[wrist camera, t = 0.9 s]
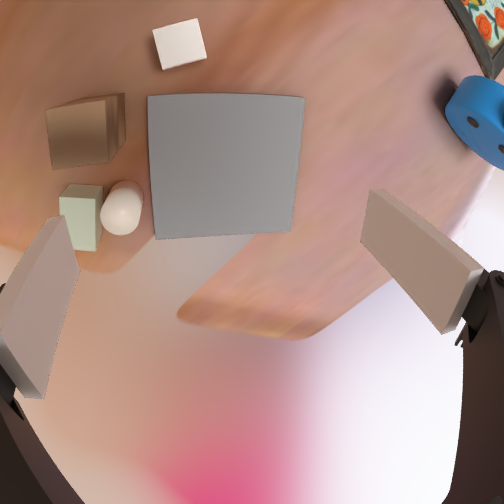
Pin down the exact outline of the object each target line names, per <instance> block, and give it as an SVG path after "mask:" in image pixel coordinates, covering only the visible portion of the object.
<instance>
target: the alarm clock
mask: <svg viewBox="0 0 504 504" xmlns="http://www.w3.org/2000/svg"><path fill="white" fill-rule="evenodd" d="M454 89H455V90H456V91H455V93H454V94H453V96H452V98H451V99H450V101H449V102H448V104H447V105H446V108H445V115H446V118H447V120H448V122H449V124H450V126H451V127H452V129H453V130H454V131H455V133H456V134H457V135H458V136H459V137H460V138H461V139H462V140H463V141H464V142H465V143H466V144H467V145H468V146H469V147H470V148H471V149H472V150H473V151H474V152H475V153H477V154H478V155H479V156H480V157H482V158H483V159H484V160H486V161H487V162H489V163H490V164H492V165H494V166H495V167H497V168H499V169H502V170H504V86H503V85H501V84H499V83H498V82H496V81H494V80H491V79H489V78H486V77H483V76H476V75H475V76H468V77H466V78H464V79H463V80H462V82H461V83H460V85H459V87H458V88H457V87H454Z"/></svg>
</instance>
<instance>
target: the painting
mask: <svg viewBox="0 0 504 504" xmlns="http://www.w3.org/2000/svg"><path fill="white" fill-rule="evenodd" d="M444 1H445V2H446V3H447V5H448V6H449V8H450V9H451V11H452V13H453V14H454V16H455V17H456V19H457V21H458V23H459V25H460V26H461V28H462V30H463V32H464V34H465V36H466V38H467V40H468V42H469V44H470V46H471V48H472V50H473V52H474V54H475V56H476V58H477V60H478V62H479V65H480V67H481V69H482V71H483V73H484V75H485V77H487V76H488V77H489V79H491V80H495V79H496V78H497V76H498V75H499V73H500V72H501V70H502V69H503V68H504V0H444Z"/></svg>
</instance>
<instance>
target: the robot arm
mask: <svg viewBox="0 0 504 504" xmlns="http://www.w3.org/2000/svg"><path fill="white" fill-rule="evenodd" d="M360 242H361V243H362V244H363V245H364V246H365V247H366V248H367V249H368V250H369V252H370V253H371V254H372V255H373V256H374V257H375V258H376V259H377V260H378V261H379V262H380V263H381V265H382V266H383V267H384V268H385V269H386V270H387V271H388V272H389V273H390V275H391V276H392V277H393V278H394V279H395V280H396V281H397V282H398V284H399V285H400V286H401V287H402V288H403V289H404V290H405V291H406V293H407V294H408V295H409V296H410V297H411V299H412V300H413V301H414V302H415V303H416V304H417V306H418V307H419V308H420V309H421V310H422V311H423V313H424V314H425V315H426V316H427V318H428V319H429V320H430V321H431V322H432V324H433V325H434V326H435V327H436V329H437V330H438V331H439V332H440V333H441V335H442V334H445V333H448V332H450V331H453V330H455V329H456V327H457V325H458V323H459V321H460V319H461V317H463V318H464V320H465V321H466V323H465V325H464V327H463V329H462V331H461V333H460V335H459V337H458V338H457V340H456V342H455V346H457V345H458V343H459V342H460V341H461V340H463V343H462V345H461V347H463V392H462V409H461V421H460V430H459V439H458V447H457V453H456V460H455V466H454V472H453V477H452V482H451V487H450V491H449V493H448V495H447V497H446V498H445V500H444V501H443V502H442V504H504V272H501V271H497V270H494V271H491V272H490V273H488V272H487V271H486V270H485V269H484V268H483V267H482V266H481V265H480V264H479V263H478V262H476V261H475V260H474V259H473V258H472V257H471V256H470V255H469V254H467V253H466V252H465V251H464V250H463V249H461V248H460V247H459V246H458V245H457V244H455V243H454V242H453V241H452V240H451V239H449V238H448V237H447V236H446V235H444V234H443V233H442V232H441V231H439V230H438V229H437V228H436V227H434V226H433V225H432V224H430V223H429V222H428V221H427V220H425V219H424V218H423V217H421V216H420V215H419V214H417V213H416V212H415V211H413V210H412V209H411V208H409V207H408V206H407V205H405V204H404V203H402V202H401V201H400V200H398V199H397V198H395V197H394V196H393V195H391V194H390V193H388V192H387V191H386V190H384V189H370V190H369V196H368V202H367V208H366V213H365V219H364V224H363V229H362V235H361V240H360ZM79 274H80V269H79V265H78V262H77V259H76V256H75V252H74V249H73V245H72V242H71V238H70V234H69V231H68V227H67V223H66V219H65V215H61V216H55V217H49V218H48V219H47V221H46V222H45V223H44V225H43V226H42V228H41V229H40V231H39V232H38V233H37V235H36V236H35V238H34V239H33V241H32V242H31V244H30V245H29V247H28V248H27V250H26V251H25V253H24V255H23V256H22V258H21V259H20V261H19V263H18V264H17V266H16V267H15V269H14V271H13V272H12V274H11V276H10V278H9V279H8V281H7V283H5V284H2V285H1V287H0V504H85V503H84V502H83V501H82V500H81V498H80V497H79V496H78V495H77V493H76V492H75V491H74V489H73V488H72V487H71V486H70V484H69V483H68V481H67V480H66V479H65V477H64V476H63V475H62V473H61V472H60V471H59V469H58V468H57V466H56V465H55V463H54V462H53V460H52V459H51V457H50V456H49V454H48V453H47V451H46V450H45V448H44V447H43V445H42V443H41V442H40V440H39V438H38V437H37V435H36V434H35V432H34V430H33V428H32V427H31V425H30V423H29V421H28V419H27V418H26V416H25V414H24V412H23V410H22V408H21V406H20V405H19V403H18V401H17V400H16V399H15V398H14V397H13V396H14V392H15V388H16V387H17V388H18V390H19V391H20V392H21V393H22V395H23V396H24V397H25V398H36V399H45V394H46V389H47V384H48V379H49V375H50V371H51V367H52V363H53V359H54V355H55V351H56V347H57V344H58V340H59V336H60V333H61V329H62V326H63V322H64V319H65V316H66V313H67V309H68V306H69V303H70V300H71V297H72V294H73V291H74V288H75V286H76V283H77V280H78V277H79Z"/></svg>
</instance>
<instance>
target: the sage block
mask: <svg viewBox="0 0 504 504" xmlns="http://www.w3.org/2000/svg"><path fill="white" fill-rule="evenodd" d="M102 201H103V186H98V185H81V184H69V186H68V187H67V188H66V189H65V190H64V192H63V193H62V194H61V195H60V196H59V208H60V216H61V215H65V219H66V223H67V227H68V231H69V234H70V238H71V242H72V245H73V249H74V250H85V251H96V249H97V247H98V244H99V241H100V239H101V236H102V223H101V219H100V212H101V209H102Z"/></svg>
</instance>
